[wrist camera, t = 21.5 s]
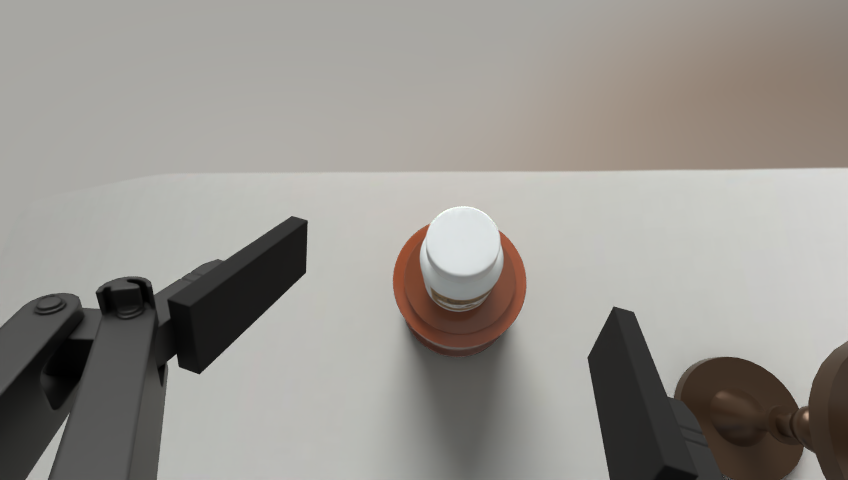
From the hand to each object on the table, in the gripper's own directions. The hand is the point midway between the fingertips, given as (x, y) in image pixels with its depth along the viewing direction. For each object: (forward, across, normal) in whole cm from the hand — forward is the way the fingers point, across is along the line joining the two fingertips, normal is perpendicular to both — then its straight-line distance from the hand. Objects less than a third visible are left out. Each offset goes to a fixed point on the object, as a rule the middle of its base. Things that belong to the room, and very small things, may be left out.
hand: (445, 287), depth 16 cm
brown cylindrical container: (+15, 0, -12) cm, 19 cm away
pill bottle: (+8, 0, -4) cm, 9 cm away
